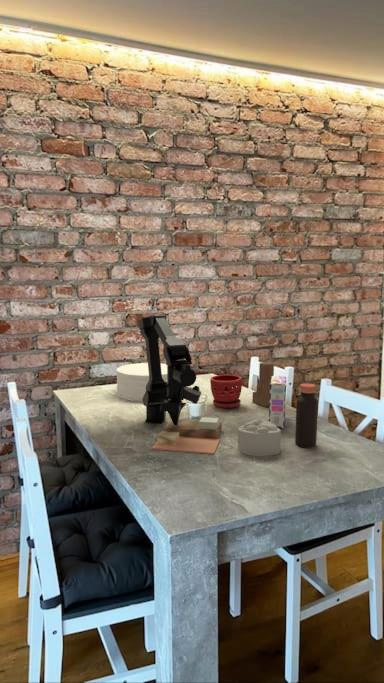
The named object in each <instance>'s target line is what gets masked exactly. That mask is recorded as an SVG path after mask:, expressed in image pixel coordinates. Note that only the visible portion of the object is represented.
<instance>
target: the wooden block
mask: <svg viewBox="0 0 384 683" xmlns="http://www.w3.org/2000/svg"><path fill="white" fill-rule="evenodd" d="M258 367H259V370H258V372H259V373H258V374H259V375H258V389H257V391H252V400H251V402H252V403H254V404H256V405H259V406H261V407H263V408H266V407H267V408H268V407H269V401H270V383H271V378H272V376H275V375H274V374H275V372H274V371H275V364H274V363H272V362H268V361H267V362H259V366H258Z"/></svg>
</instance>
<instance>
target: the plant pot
mask: <svg viewBox="0 0 384 683" xmlns="http://www.w3.org/2000/svg"><path fill="white" fill-rule="evenodd" d="M242 380H243V379H242V377H241V376H239V375H235V374H220V375H219V374H218V375H214V376H212V377H210V380H209V381H210V383H209V384H210V392H211V395H212V397H213V400H212V403H213V405H214V406H216V407H219V408H222V409H223V408H224V409H225V408H228V409H229V408H235V407H238V406H239V405H240V404H241V403H242V402H241V401H242V400H241V399H239V398H240V397H241V394H242V389H243V388H242V386H243V383H242V382H243V381H242Z"/></svg>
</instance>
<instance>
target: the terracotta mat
mask: <svg viewBox="0 0 384 683" xmlns="http://www.w3.org/2000/svg"><path fill="white" fill-rule="evenodd" d="M220 442H221V439H219V438H218V439H210V438H197V437H184V436H179V441H178V442H177V443H176V445H170V444H160V443H157V441H156V442H155V443H154V444H153V445H152V447H151V450H157V451H172V452H182V453H195V454H209V455H215V453H216V452H217V449H218V447H219V444H220Z"/></svg>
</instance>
